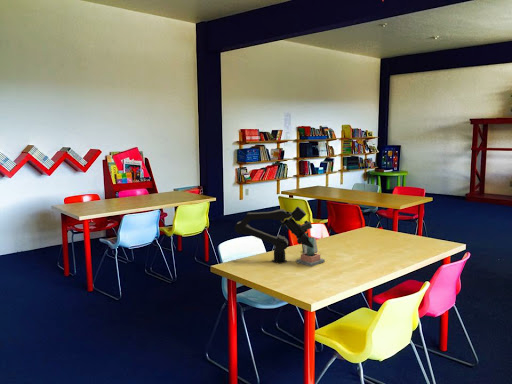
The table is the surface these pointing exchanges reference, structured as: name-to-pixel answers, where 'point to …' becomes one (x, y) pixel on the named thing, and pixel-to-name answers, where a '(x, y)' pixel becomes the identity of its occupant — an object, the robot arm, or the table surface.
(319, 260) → the socket plate
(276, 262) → the robot arm
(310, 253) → the peg
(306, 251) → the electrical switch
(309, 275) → the table surface
